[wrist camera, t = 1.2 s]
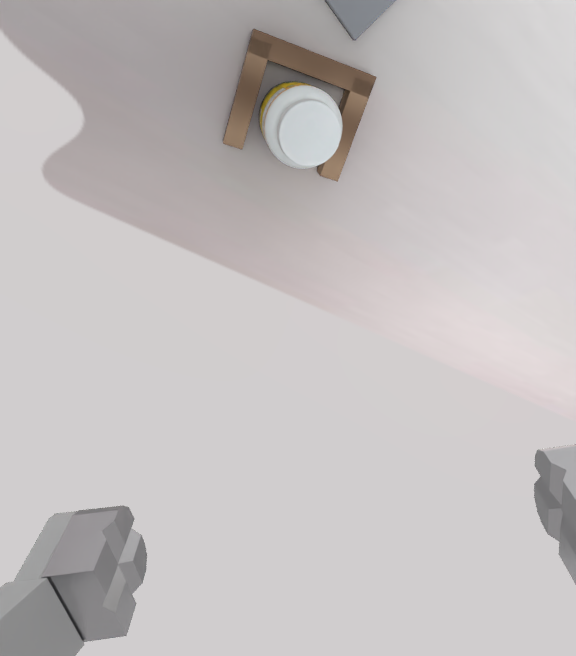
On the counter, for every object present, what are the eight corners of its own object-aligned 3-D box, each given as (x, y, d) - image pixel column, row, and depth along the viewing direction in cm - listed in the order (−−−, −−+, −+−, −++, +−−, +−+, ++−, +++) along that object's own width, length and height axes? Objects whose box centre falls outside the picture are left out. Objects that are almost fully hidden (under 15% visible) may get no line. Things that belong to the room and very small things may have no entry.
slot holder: (333, 176, 44) (337, 181, 42) (223, 139, 41) (223, 143, 40) (369, 76, 40) (376, 76, 38) (252, 29, 38) (253, 28, 36)
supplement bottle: (244, 123, 41) (249, 141, 32) (287, 64, 39) (304, 67, 31) (297, 166, 43) (314, 194, 34) (339, 112, 41) (368, 126, 33)
